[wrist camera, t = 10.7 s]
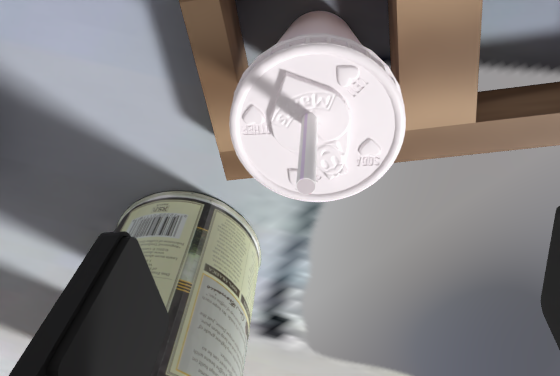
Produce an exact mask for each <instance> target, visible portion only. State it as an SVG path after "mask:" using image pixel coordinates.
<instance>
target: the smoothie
mask: <svg viewBox="0 0 560 376" xmlns="http://www.w3.org/2000/svg"><path fill="white" fill-rule="evenodd" d="M229 126H230V135H231V140H232V144H233V147H234V149H235V152H236V154H237V156H238V158H239V160H240V161H241V163H242V164H243V166H244V167H245V169H246V170H247V171H248V172H249V173H250V174H251V175H252V176H253V177H254V178H255V179H256V180H257V181H258V182H260V183H261V184H262V185H264V186H265V187H267V188H268V189H270V190H272V191H274V192H276V193H278V194H280V195H282V196H285V197H288V198H292V199H295V200H301V201H308V202H327V201H333V200H339V199H342V198H346V197H349V196H352V195H354V194H357V193H359V192H361V191H363V190H364V189H366V188H368V187H369V186H371V185H372V184H374V183H375V182H376V181H377V180H379V179H380V178H381V177H382V176H383V175H384V174H385V173H386V172H387V171H388V169H389V168H390V167H391V165H392V164H393V162H394V161H395V159H396V158H397V156H398V154H399V151H400V149H401V146H402V143H403V140H404V136H405V128H406V117H405V107H404V102H403V98H402V93H401V89H400V85H399V84H398V82H397V80H396V78H395V77H394V75H393V73H392V71H391V70H390V68H389V66H388V65H387V64H386V63H385V62H383V61H382V60H381V59H380V58H379V57H378V56H377V55H376V54H375V53H374V52H373V51H372V50H370V49H368V48H366V47H364V46H363V45H362V44H361V43H360V42H359V40H358V39H357V37H356V36H355V35H354V33H353V32H352V30H351V29H350V28H349V26H348V25H347V23H346V22H345V21H344V20H343V19H342V18H340V17H339V16H337V15H335V14H333V13H330V12H327V11H312V12H308V13H306V14H303V15H302V16H300V17H299V18H297V19H296V20H295V21H294V22H293V23H292V24H291V25H290V27H289V28H288V29H287V31H286V32H285V33H284V34H283V36H282V37H281V38H280V40H279V41H278V42H277V44H275V45H274V46H272V47H271V48H269V49H268V50H266V51H265V52H263V53H262V54H260V55H259V56H257V58H256V59H255V60H254V61H253V62H252V63H251V65H250V66H249V67H248V68H247V69H246V70H245V72H244V73H243V74H242V77H241V79H240V81H239V83H238V85H237V88H236V90H235V92H234V97H233V102H232V106H231V110H230V121H229Z"/></svg>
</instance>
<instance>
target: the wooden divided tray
mask: <svg viewBox="0 0 560 376" xmlns="http://www.w3.org/2000/svg"><path fill="white" fill-rule="evenodd" d="M482 1H483V0H388V15H389V37H390V59H391V71H392V73H393V75H394V77H395V78H396V80H397V82H398V84H399V85H400V89H401V93H402V98H403V102H404V107H405V117H406V128H405V136H404V140H403V143H402V146H401V149H400V151H399V154H398V156H397V158H396V159H395V161H394V162H393V163H396V162H406V161H414V160H424V159H433V158H443V157H452V156H462V155H471V154H481V153H490V152H499V151H509V150H518V149H528V148H536V147H546V146H556V145H560V82H554V83H546V84H538V85H530V86H522V87H514V88H506V89H497V90H490V91H482V92H477V90H478V73H479V55H480V37H481V19H482ZM179 3H180V7H181V11H182V14H183V18H184V22H185V25H186V29H187V33H188V37H189V40H190V44H191V48H192V52H193V55H194V59H195V63H196V67H197V70H198V74H199V78H200V82H201V85H202V89H203V93H204V97H205V100H206V104H207V108H208V112H209V115H210V119H211V123H212V127H213V130H214V134H215V138H216V142H217V145H218V149H219V153H220V157H221V160H222V164H223V168H224V172H225V175H226V179H227V180H236V179H245V178H254V177H253V176H252V175H251V174H250V173H249V172H248V171H247V170H246V169H245V167H244V166H243V164H242V163H241V161H240V160H239V158H238V156H237V154H236V152H235V149H234V147H233V144H232V140H231V135H230V126H229V121H230V110H231V106H232V102H233V97H234V92H235V90H236V88H237V85H238V83H239V81H240V79H241V77H242V74H243V73H244V72H245V70H246V69H247V68H248V62H247V57H246V52H245V47H244V43H243V38H242V33H241V28H240V23H239V18H238V14H237V9H236V4H235V0H179Z"/></svg>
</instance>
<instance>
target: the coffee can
mask: <svg viewBox="0 0 560 376" xmlns="http://www.w3.org/2000/svg"><path fill="white" fill-rule="evenodd" d="M121 231H125V232H128V233H129V234H130V236H131V237H135V238H136V239H137V240H138V242H139V245H140V247H141V250H142V252H143V254H144V257H145V259H146V262H147V264H148V266H149V269H150V271H151V274H152V276H153V278H154V281H155V283H156V286H157V288H158V290H159V293H160V295H161V298H162V300H163V302H164V305H165V307H166V310H167V312H168V315H169V326H168V330H167V332H166V335H165V338H164V341H163V343H162V346H161V349H160V351H159V354H158V357H157V360H156V362H155V365H154V368H153V370H152V373H151V376H243V370H244V364H245V357H246V350H247V344H248V336H249V329H250V322H251V315H252V309H253V301H254V294H255V288H256V281H257V274H258V270H259V267H260V263H261V251H260V246H259V242H258V239H257V237H256V235H255V233H254V231H253V229H252V228H251V226H250V225H249V224H248V223H247V222H246V220H245V219H244V218H243V217H242V216H241V215H239V214H238V213H237V212H236V211H234V210H233V209H232V208H230V207H229V206H227V205H226V204H224V203H223V202H221V201H219V200H216V199H214V198H212V197H209V196H206V195H202V194H198V193H194V192H184V191H169V192H161V193H157V194H153V195H150V196H147V197H145V198H143V199H141V200H139V201H137V202H135V203H134V204H133V205H131V207H129V208H128V209H127V210H126V211H125V212H124V214H123V215H122V217H121V218H120V220H119V222H118V225H117V228H116V230H115V231H114V232H121Z"/></svg>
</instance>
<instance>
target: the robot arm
mask: <svg viewBox="0 0 560 376" xmlns="http://www.w3.org/2000/svg"><path fill="white" fill-rule="evenodd" d="M541 307H542V311H543V314H544V317H545V319H546V321H547V323H548V325H549V328H550V330H551V332H552V334H553V336H554V339H555V340H556V343H557V345H558V347H559V350H560V206H559V207H558V208H557V210H556V214H555V220H554V225H553V231H552V237H551V242H550V248H549V254H548V260H547V266H546V272H545V278H544V283H543V290H542V295H541ZM168 326H169V315H168V312H167V310H166V307H165V305H164V302H163V300H162V298H161V295H160V293H159V290H158V288H157V286H156V283H155V281H154V278H153V276H152V274H151V271H150V269H149V266H148V264H147V262H146V259H145V257H144V254H143V252H142V250H141V247H140V245H139V242H138V240H137V239H136V238H135V237H131V236H130V234H129V233H128V232H125V231H121V232H108V233H102V234H101V235H100V236H99V237H98V238H97V240H96V241H95V243H94V245H93V246H92V248H91V249H90V251H89V252H88V254H87V255H86V257H85V258H84V260H83V262H82V263H81V265H80V266H79V268H78V269H77V271H76V272H75V274H74V275H73V277H72V279H71V280H70V282H69V283H68V285H67V286H66V288H65V289H64V291H63V293H62V294H61V296H60V297H59V299H58V300H57V302H56V303H55V305H54V306H53V308H52V310H51V311H50V313H49V314H48V316H47V317H46V319H45V320H44V322H43V323H42V325H41V327H40V328H39V330H38V331H37V333H36V334H35V336H34V337H33V339H32V340H31V342H30V344H29V345H28V347H27V348H26V350H25V351H24V353H23V354H22V356H21V357H20V359H19V361H18V362H17V364H16V365H15V367H14V368H13V370H12V371H11V373H10V375H9V376H151V373H152V370H153V368H154V365H155V362H156V360H157V357H158V354H159V351H160V349H161V346H162V343H163V341H164V338H165V335H166V332H167V330H168Z"/></svg>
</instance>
